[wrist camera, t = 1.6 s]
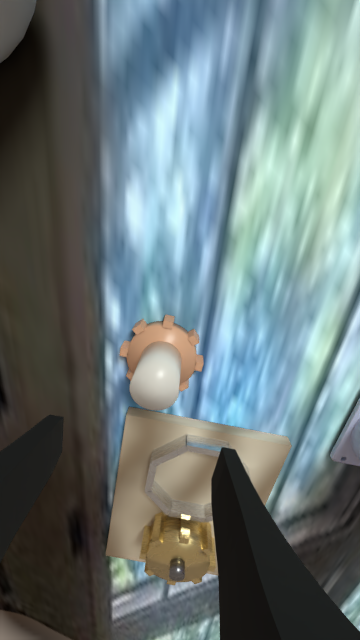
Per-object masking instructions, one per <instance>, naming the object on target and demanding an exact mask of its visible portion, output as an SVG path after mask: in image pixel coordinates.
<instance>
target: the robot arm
mask: <svg viewBox="0 0 360 640" xmlns="http://www.w3.org/2000/svg"><path fill="white" fill-rule="evenodd" d="M62 439H63V417H60V416H54V415H49V416H47V417H46V418H44V419H43V420H42V421H40V422H39V423H38V424H37V425H35V426H34V427H33V428H31V429H30V430H29V431H28V432H26V433H25V434H24V435H22V436H21V437H20V438H18V439H17V440H15V441H14V442H13V443H11V444H10V445H9V446H7V447H6V448H4V449H3V450H2V451H0V562H1V560H2V558H3V556H4V555H5V553H6V551H7V549H8V547H9V545H10V543H11V541H12V539H13V538H14V536H15V534H16V532H17V531H18V529H19V527H20V526H21V524H22V522H23V521H24V519H25V517H26V516H27V514H28V512H29V511H30V509H31V508H32V506H33V504H34V503H35V501H36V499H37V498H38V496H39V494H40V493H41V491H42V489H43V488H44V486H45V484H46V483H47V481H48V479H49V478H50V476H51V474H52V472H53V470H54V468H55V466H56V464H57V461H58V459H59V457H60V455H61V453H62ZM330 457H331V458H332V460H333V461H335V462H340V463H345V464H351V465H356V466H360V398H359V400H358V402H357V404H356V406H355V408H354V410H353V411H352V413H351V415H350V417H349V419H348V421H347V423H346V425H345V427H344V429H343V431H342V432H341V434H340V436H339V438H338V440H337V442H336V444H335V446H334V448H333V450H332V451H331V453H330ZM211 506H212V517H213V527H214V536H215V546H216V556H217V565H218V578H219V607H220V640H360V632H359V630H358V629H357V628H356V627H355V626H354V625H353V624H352V623H351V622H350V621H349V620H348V618H347V617H346V616H345V615H344V614H343V613H342V611H341V610H340V609H339V608H338V607H337V606H336V604H335V603H334V602H333V601H332V600H331V599H330V597H329V596H328V595H327V594H326V593H325V591H324V590H323V589H322V587H321V586H320V585H319V584H318V582H317V581H316V580H315V579H314V577H313V576H312V575H311V573H310V572H309V571H308V570H307V568H306V567H305V566H304V564H303V563H302V562H301V560H300V559H299V558H298V556H297V555H296V553H295V552H294V551H293V549H292V548H291V546H290V545H289V543H288V542H287V541H286V539H285V538H284V536H283V535H282V533H281V532H280V530H279V528H278V527H277V525H276V524H275V522H274V520H273V519H272V517H271V516H270V514H269V512H268V511H267V509H266V507H265V505H264V504H263V502H262V500H261V498H260V497H259V495H258V493H257V491H256V489H255V487H254V486H253V484H252V482H251V480H250V478H249V476H248V474H247V472H246V470H245V468H244V466H243V464H242V462H241V460H240V458H239V456H238V453H237V451H236V450H235V449H231V448H225V447H222V448H221V451H220V454H219V457H218V460H217V463H216V466H215V469H214V472H213V475H212V479H211Z"/></svg>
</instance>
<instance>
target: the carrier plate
mask: <svg viewBox="0 0 360 640" xmlns="http://www.w3.org/2000/svg"><path fill="white" fill-rule="evenodd" d="M185 434H186V435H187V434H190V435H196V436H201V437H206V438H212V439H217V440H222V441H227V443H228V442H229V444H230V445H231V446H232V447H233V449H235V450H236V451H237V453H238V455H239V456H240V458H241V459H242V460H243V462H244V463H245V464H246V466H247V467H248V468H249V473H250V477H251V482H252V484H253V486H254V487H255V489H256V491H257V493H258V495H259V497H260V498H261V500H262V502H263V504H264V505H265V504H266V502H267V500H268V497H269V495H270V493H271V491H272V488H273V486H274V484H275V482H276V479H277V477H278V475H279V473H280V471H281V468H282V466H283V464H284V462H285V459H286V457H287V455H288V453H289V451H290V448H291V443H290V441H289V439H288V437H286V436H281V435H276V434H271V433H265V432H260V431H255V430H249V429H244V428H239V427H234V426H228V425H223V424H218V423H213V422H207V421H202V420H197V419H191V418H186V417H181V416H176V415H170V414H165V413H160V412H155V411H149V410H144V409H139V408H134V407H129V408H128V411H127V414H126V420H125V427H124V434H123V441H122V448H121V454H120V461H119V468H118V475H117V482H116V488H115V495H114V502H113V509H112V516H111V522H110V529H109V536H108V543H107V550H106V555H107V556H112V557H118V558H123V559H129V560H135V561H140V562H145V560H144V559H139V557H140V551H141V544H142V538H143V532H144V527H145V525H146V526H151V525H152V523H153V522H154V520H155V514H158V513H160V512H162V513H163V514H164V515H166V514H165V513H164V512H163V511H162V510H161V509H160V508H159V507H158V506H157V505H156V504H155V503H154V501H153V500H152V499H151V498H150V497H149V496H148V495H147V494H146V493H145V485H146V480H147V475H148V470H149V465H150V460H151V455H152V451H153V450H155V449H157V448H159V447H161V446H163V445H165V444H167V443H169V442H171V441H173V440H175V439H177V438H179V437H181V436H183V435H185ZM217 460H218V457H215V456H210V455H205V454H199V453H194V452H189V451H187V452H185V453H183V454H181V455H179V456H177V457H175V458H173V459H170V460H168V461H166V462H164V463H162V464H160V465H158V466H157V468H156V473H155V477H154V480H155V481H156V482H157V483H158V484H159V485H160V486H161V487H162V488H163V489H164V491H165V492H166V493H167V494H168V495H169V496H170V497H171V498H172V499H175V500H180V501H186V502H191V503H197V504H202V505H205V504H208V503H210V502H211V479H212V475H213V472H214V469H215V466H216V463H217ZM209 523H210V524H211V533H212V537H213V538H214V542H215V536H214V527H213V520H212V521H210V522H209ZM215 558H216V568H215V571H214V572H211V571H208V572H207V573H208V574H213V575H218V565H217V556H216V546H215Z"/></svg>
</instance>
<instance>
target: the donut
mask: <svg viewBox="0 0 360 640" xmlns="http://www.w3.org/2000/svg"><path fill="white" fill-rule="evenodd" d="M35 5H36V0H0V63H1V62H2V61H4V60H5V59H6V58H8V57H9V55H10V54H11V53H12V52H13V50H14V49H15V48H16V47H17V45H18V44H19V43H20V41H21V40H22V39H23V38H24V35H25V33H26V30H27V28H28V26H29V23H30V21H31V18H32V16H33V14H34V10H35Z"/></svg>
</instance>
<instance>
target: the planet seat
mask: <svg viewBox="0 0 360 640" xmlns="http://www.w3.org/2000/svg"><path fill="white" fill-rule="evenodd" d="M222 447H225V448H231V449H233V447H232V446H231V445H230V444H229V442H228V443H227V441H222V440H217V439H212V438H206V437H201V436H196V435H190V434H187V435H186V434H185V435H183V436H181V437H179V438H177V439H175V440H173V441H171V442H169V443H167V444H165V445H163V446H161V447H159V448H157V449H155V450H153V451H152V455H151V460H150V465H149V470H148V475H147V480H146V485H145V493H146V494H147V495H148V496H149V497H150V498H151V499H152V500H153V501H154V503H155V504H156V505H157V506H158V507H159V508H160V509H161V510H162V511H163V512H164V513H165V514H166V515H169V516H170V517H176V518H181V519H187V520H192V521H198V522H203V523H205V522H206V523H207V522H210V521H212V520H213V517H212V506H211V502H210V503H208V504H205V505H202V504H197V503H191V502H186V501H180V500H175V499H172V498H171V497H170V496H169V495H168V494H167V493H166V492H165V491H164V489H163V488H162V487H161V486H160V485H159V484H158V483H157V482H156V481H155V480H154V477H155V473H156V468H157V466H158V465H160V464H162V463H164V462H166V461H168V460H170V459H173V458H175V457H177V456H179V455H181V454H183V453H185V452H187V451H189V452H194V453H199V454H205V455H210V456H215V457H219V454H220V451H221V448H222ZM238 456H239V455H238ZM239 458H240V456H239ZM240 460H241V462H242V464H243V466H244V468H245V470H246V472H247V474H248V476H249V478H250V480H251V477H250V473H249V468H248V467H247V466H246V464H245V463H244V462H243V460H242V459H241V458H240Z"/></svg>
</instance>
